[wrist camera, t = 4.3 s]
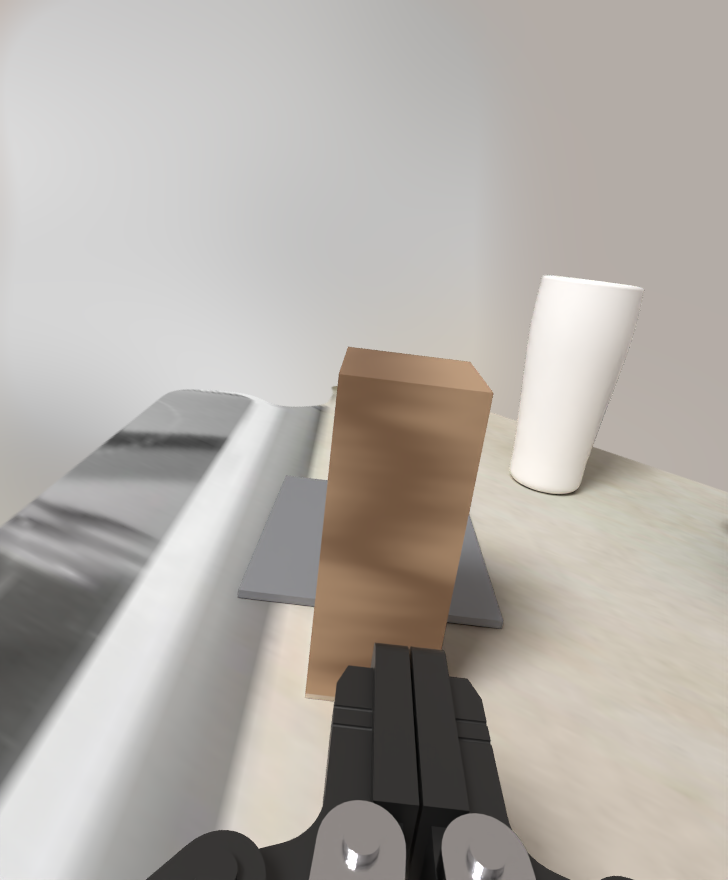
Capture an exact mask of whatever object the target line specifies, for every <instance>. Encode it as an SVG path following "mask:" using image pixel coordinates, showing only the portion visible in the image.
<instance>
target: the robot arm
mask: <svg viewBox="0 0 728 880" xmlns="http://www.w3.org/2000/svg"><path fill="white" fill-rule="evenodd" d="M490 741H491V740H490V735H489V731H488V726H486V717H485V712H484V708H483V703H482V699H481V698H480V696H479V695H478V693H477V692H476V690H475V689H474V687H473V686H472V684H471V683H470V682H469V680H468V679H465V678H457V677H449V674H448V668H447V661H446V655H445V652H444V650H438V649H429V648H420V647H412V646H410V648H408V646H402V645H393V644H385V643H376V642H375V643H374V648H373V654H372V661H371V667H370V668H368V667H360V666H351V665H348V667H347V668H346V670H345V671H344V673H343V674H342V675H341V677H340V678H339V680H338V681H337V684H336V692H335V700H334V708H333V716H332V724H331V732H330V740H329V750H328V759H327V769H326V778H325V788H324V797H323V807H322V810H321V812H320V814H319V816H318V818H317V819H316V821H315V822H314V823H313V824H312V826H311V827H310V828H309V829H307V830H306V831H305V832H304V833H302V834H301V835H300V836H298V837H296V838H294V839H292V840H290V841H287V842H284V843H280V844H276V845H272V846H268V847H264V848H260V849H258V847H257V846H256V844H255V843H254V842H253V841H252V840H250V839H249V838H248V837H246V836H245V835H243V834H241V833H238V832H235V831H229V830H219V831H213V832H209V833H206V834H204V835H202V836H200V837H198V838H196V839H194V840H193V841H192V842H190V843H189V844H188V845H186V846H185V847H184V848H183V849H182V850H180V851H179V852H178V853H177V854H176V855H175V856H173V857H172V858H171V859H170V860H169V861H167V862H166V863H165V864H164V865H163V866H162V867H160V868H159V869H158V870H157V871H156V872H154V873H153V874H152V875H151V876H150V877H149V878H147V879H146V880H570V879H567V878H565V877H563V876H561V875H559V874H556V873H554V872H553V871H551V870H549V869H547V868H545V867H544V866H543V865H541V864H540V863H538V862H537V861H536V860H535V859H534V858H532V857H531V856H530V855H529V854H528V853H527V851H526V849H525V847H524V845H523V843H522V842H521V841H520V839H519V838H518V836H517V835H516V834H515V833H514V832H513V831H512V829H511V827H510V824H509V821H508V817H507V813H506V808H505V804H504V799H503V795H502V790H501V786H500V781H499V776H498V772H497V767H496V763H495V758H494V754H493V749H492V745H491V744H490ZM601 880H633V879H630V878H626V877H622V876H610V877H606V878H604V879H601Z"/></svg>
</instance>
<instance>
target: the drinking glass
mask: <svg viewBox="0 0 728 880" xmlns="http://www.w3.org/2000/svg"><path fill="white" fill-rule="evenodd" d="M643 293H644V288H642V287H636V286H630V285H623V284H616V283H608V282H600V281H593V280H586V279H578V278H570V277H560V276H552V275H543V276H542V280H541V284H540V287H539V291H538V294H537V298H536V302H535V306H534V310H533V315H532V320H531V325H530V330H529V336H528V343H527V350H526V357H525V365H524V373H523V381H522V388H521V397H520V404H519V411H518V420H517V426H516V433H515V440H514V447H513V452H512V456H511V461H510V466H509V470H510V474H511V476H512V477H513V478H514V479H515V480H516V481H517V482H519V483H520V484H522V485H524V486H526V487H528V488H531V489H534V490H537V491H541V492H545V493H552V494H566V493H571V492H573V491H575V490H576V489H578V487H579V486H580V484H581V481H582V478H583V474H584V471H585V467H586V463H587V461H588V458H589V455H590V452H591V450H592V447H593V444H594V441H595V439H596V436H597V433H598V431H599V428H600V425H601V423H602V420H603V417H604V415H605V412H606V409H607V407H608V404H609V401H610V399H611V396H612V394H613V391H614V388H615V386H616V383H617V381H618V378H619V375H620V373H621V370H622V367H623V365H624V362H625V359H626V356H627V353H628V350H629V348H630V344H631V341H632V338H633V335H634V331H635V327H636V324H637V320H638V316H639V311H640V307H641V302H642V298H643Z"/></svg>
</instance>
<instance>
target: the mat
mask: <svg viewBox="0 0 728 880" xmlns="http://www.w3.org/2000/svg"><path fill="white" fill-rule="evenodd" d="M327 483H328V480H320V479H311V478H303V477H295V476H287V475H286V477H285V479H284V481H283V484H282V486H281V489H280V491H279V493H278V496H277V498H276V501H275V503H274V505H273V508H272V510H271V513H270V515H269V517H268V520H267V522H266V524H265V527H264V529H263V532H262V534H261V536H260V539H259V541H258V544H257V546H256V548H255V551H254V553H253V555H252V558H251V560H250V563H249V565H248V567H247V570H246V572H245V575H244V577H243V579H242V582H241V584H240V586H239V589H238V597H240V598H248V599H257V600H265V601H274V602H282V603H290V604H299V605H307V606H315V597H316V588H317V578H318V569H319V559H320V550H321V540H322V531H323V521H324V512H325V502H326V493H327ZM447 622H450V623H458V624H467V625H475V626H484V627H492V628H501V629H502V625H503V619H502V615H501V612H500V609H499V606H498V603H497V600H496V597H495V594H494V591H493V587H492V584H491V581H490V578H489V575H488V572H487V569H486V566H485V563H484V559H483V556H482V553H481V550H480V547H479V544H478V541H477V538H476V535H475V531H474V528H473V525H472V522H471V519H470V516H468V521H467V526H466V531H465V535H464V540H463V545H462V550H461V555H460V560H459V565H458V570H457V575H456V580H455V584H454V589H453V594H452V599H451V604H450V609H449V614H448V619H447Z"/></svg>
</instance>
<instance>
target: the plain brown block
mask: <svg viewBox="0 0 728 880" xmlns="http://www.w3.org/2000/svg"><path fill="white" fill-rule="evenodd" d="M492 398H493V392H492V390H491V389H490V388H489V386H488V385H487V384H486V382H485V381H484V380H483V378H482V377H481V376H480V375H479V373H478V372H477V370H476V369H475V368H474V366H473V365H472V364H471V362H467V361H459V360H451V359H443V358H434V357H427V356H418V355H411V354H402V353H394V352H386V351H378V350H370V349H362V348H354V347H348V349H347V352H346V355H345V358H344V361H343V364H342V366H341V369H340V372H339V379H338V388H337V397H336V407H335V416H334V426H333V435H332V445H331V454H330V464H329V474H328V483H327V493H326V502H325V512H324V521H323V531H322V540H321V550H320V559H319V569H318V578H317V588H316V597H315V607H314V617H313V626H312V636H311V645H310V655H309V664H308V674H307V683H306V693H305V698H311V699H320V700H328V701H334V700H335V692H336V684H337V681H338V680H339V678H340V677H341V675H342V674H343V673H344V671H345V670H346V668H347V667H348V665H351V666H360V667H368V668H370V667H371V661H372V654H373V648H374V643H375V642H376V643H385V644H393V645H402V646H408V648H410V646H412V647H420V648H429V649H438V650H441V648H442V643H443V638H444V634H445V629H446V624H447V619H448V614H449V609H450V604H451V599H452V594H453V589H454V584H455V580H456V575H457V570H458V565H459V560H460V555H461V550H462V545H463V540H464V535H465V531H466V526H467V521H468V516H469V511H470V506H471V501H472V496H473V491H474V486H475V481H476V477H477V472H478V467H479V462H480V457H481V452H482V447H483V442H484V437H485V432H486V428H487V423H488V418H489V413H490V408H491V403H492Z"/></svg>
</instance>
